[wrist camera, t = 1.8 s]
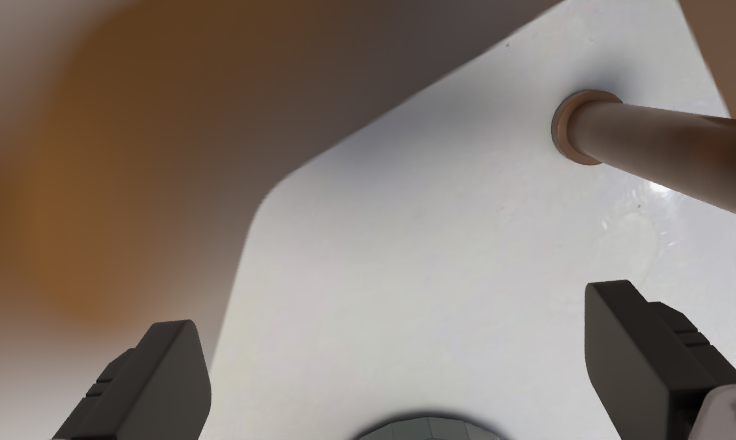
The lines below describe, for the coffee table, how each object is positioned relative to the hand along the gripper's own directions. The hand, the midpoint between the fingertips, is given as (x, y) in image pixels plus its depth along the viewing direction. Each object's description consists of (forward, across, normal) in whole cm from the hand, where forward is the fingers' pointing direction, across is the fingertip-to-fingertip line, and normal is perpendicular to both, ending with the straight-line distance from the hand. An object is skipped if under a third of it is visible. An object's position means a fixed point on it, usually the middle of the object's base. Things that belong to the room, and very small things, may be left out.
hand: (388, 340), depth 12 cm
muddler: (+23, -11, +1) cm, 25 cm away
